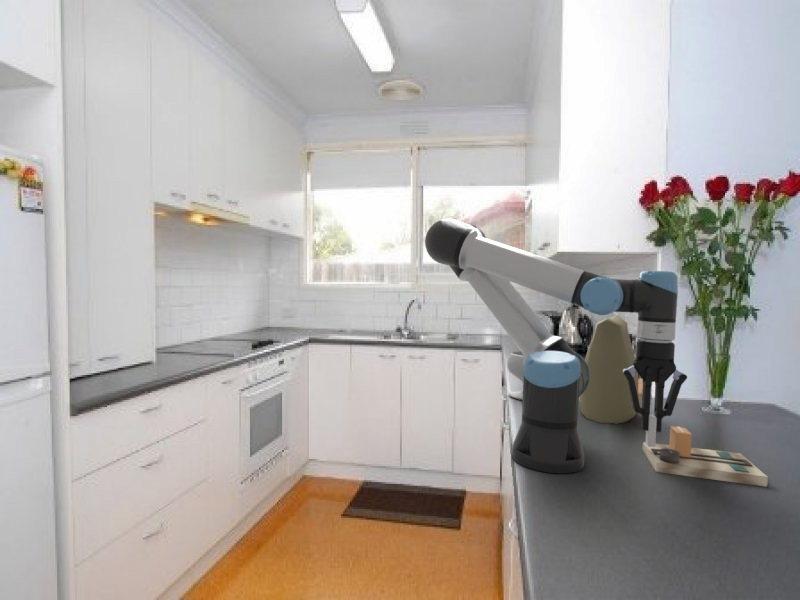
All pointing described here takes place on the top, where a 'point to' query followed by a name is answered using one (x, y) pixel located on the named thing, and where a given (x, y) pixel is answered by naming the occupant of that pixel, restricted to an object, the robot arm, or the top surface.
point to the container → (609, 374)
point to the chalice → (516, 370)
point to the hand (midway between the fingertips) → (650, 444)
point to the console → (705, 465)
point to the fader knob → (680, 441)
